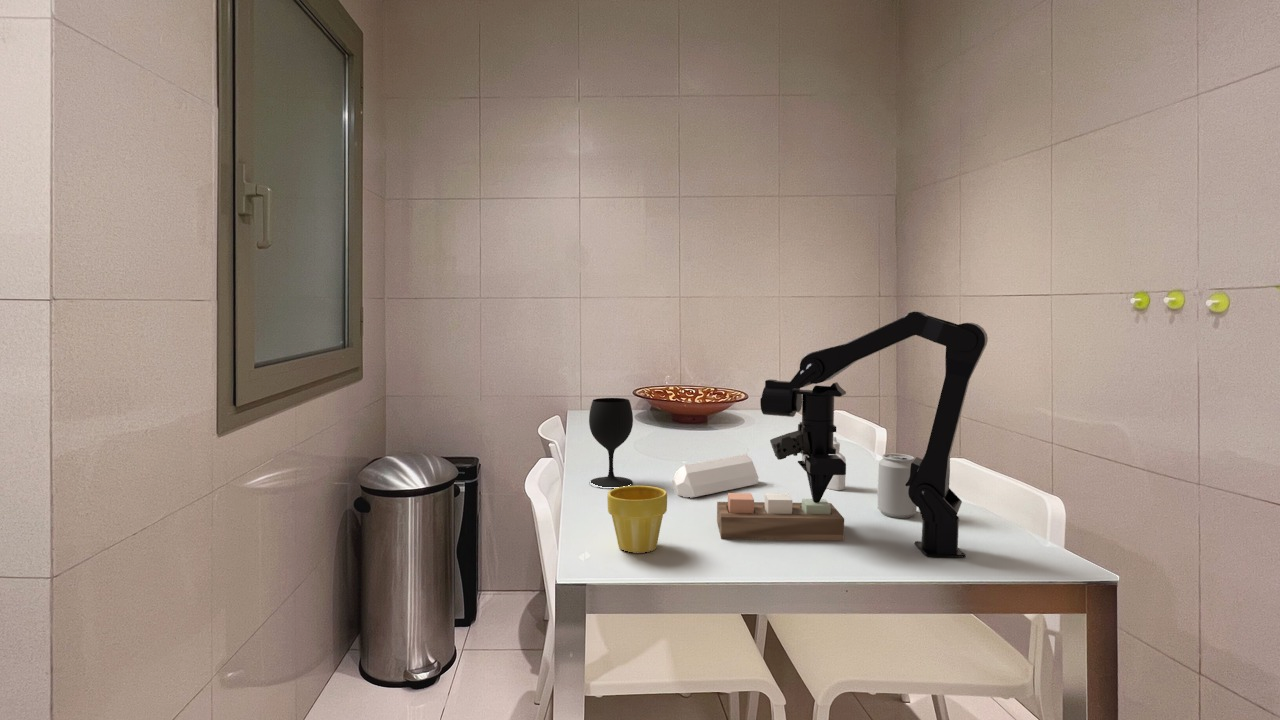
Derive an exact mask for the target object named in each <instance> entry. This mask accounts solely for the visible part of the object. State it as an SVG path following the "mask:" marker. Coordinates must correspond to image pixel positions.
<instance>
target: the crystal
mask: <svg viewBox="0 0 1280 720" xmlns="http://www.w3.org/2000/svg"><path fill="white" fill-rule="evenodd" d="M758 484H759V474H758V473H757V470H756V467H755V463H754V461H753V459H752V458H751V456H750V455H748V454H747V453H745V454H741V455H740V454H739V455H734V456H728V457H723V458H716V459H711V460H705V461H700V462H693V463H687V464H684V465H682V466H681V467H680V468H678V469H677V470H676V472H675V474H674V476H673V479H672V488H673V489H672V490H673V491H674V493H675V495H677V496H678V495H680V496H679V497H681V496H683V497H682V498H684V497H690V498H689V499H692V498H697V497H702V496H705V495H712V494H716V493H720V492H725V491H729V490H730V491H731V490H734V489H735V490H736V489H739V488H744V487H748V486H753V485H758Z"/></svg>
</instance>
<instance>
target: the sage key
mask: <svg viewBox="0 0 1280 720" xmlns="http://www.w3.org/2000/svg"><path fill="white" fill-rule="evenodd" d="M801 503H802V510H803V512H804V513H805V514H831V505H830V504H829V503H830V502H828V501H827V499H826V498H821V500H820V502H814V501H813V499H812V498H801Z"/></svg>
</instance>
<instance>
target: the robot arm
mask: <svg viewBox="0 0 1280 720" xmlns="http://www.w3.org/2000/svg"><path fill="white" fill-rule="evenodd" d="M914 336H917V337H920V338H922V339H925V340H928V341H931V342H933V343H936V344H938V345H941V346H945V372H944V373H945V376H944V381H943V383H942V386H941V387H942V388H941V392H940V396H939V400H938V403H937V407H936V412H935V414H934V419H933V423H932V428H931V431H930V435H929V439H928V443H927V447H926V451H925V453H924V456H923V457H922V458H920V457H917V456H916V457H914V458H915V459H914V461H913V462H912V463H911V468H910V478H909V480H908V482H907V483H906V484H905V486H909V491H908V494H909V498H910V499H911V501H912V502H913V503H914V504H915V505H916V506H917V508H918V510H919V513H920V516H921V518H922V523H921V541H918V540H917V541H916V540H915V541H914V543H913V545H914V546H915V547H916V548H917V549H919V550H920V551H921V552H922V553H923V554H924V555H925V556H926V557H929V558H930V557H931V558H935V557H936V558H966V556H967V554H966V553H965V552H964V551H963V550H962V549H960V548H959V527H960V526H959V524H960V523H959V522H960V517H959V516H958V513H959V511H960V508H961V505H962V500H961V499H960V497H958V495H957V494H956V493H955V492H954V491H953V490H952V489H951V488H950V480H951V478H950V477H951V476H950V475H951V472H950V471H951V454H952V453H951V452H952V448H953V446H954V442H955V437H956V433H957V429H958V427H959V423H960V419H961V415H962V411H963V406H964V403H965V400H966V396H967V395H966V394H967V390H968V388H969V384H970V380H971V378H972V375H973V373H974V372H975V370H976V368H977V366H978V363H979V362H980V359H981V358H982V356H983V354H984V352H985V349H986V347H987V344H988V341H989V339H988V338H989V337H988V334H987V332H986V330H985V329H984V327H983V326H981V325H979V324H978V323H974V322H963V323H959V324H958V323H954V322H952V321H949V320H944V319H941V318H938V317H935V316H931V315H928V314H926V313H924V312H923V311H911V312H908V313H906V314H905V315H903V317H901V318H898V319H896V320H894V321H892V322H889V323H887V324H885V325H883V326H881V327H879V328H877V329H874V330H873V331H869V332H868V333H866V334H863V335H861V336H859V337H857V338H855V339H852V340H851V341H848V342H846V343H843V344H839V345H836V346H835V345H834V346H832V347H831V346H830V347H828V348H824V349H820V350H816V351H812V352H809V353H806V354H805V355H804V356H803V357H802V358H801V360H800V364H799V369H798V371H797V372H796V374H794V376H793V377H792V378H791V380H790V381H783V380H777V379H766V380H765V381H764V388H763V389H762V390H763V391H762V393H761V397H760V404H759V405H760V409H761V410H760V411H761V413H762V415H764V416H776V417H777V416H779V417H790V418H794V417H795V416H796V413H800V412H801V421H799V423H798V424H797V430H795V431H791V432H788V433H784V434H783V435H782V434H781V435H779V436H776V437H773V438H771V439H770V440H769V441H770V445H771V448H772V451H773V453H774V456H775V457H776V459H777V460H779V461H780V460H784V459H786V458H787V457H790V456H792V455H793V456H794V457H797V456H798V455H799V454H801V460H797V464H798V465H799V466H800V467H801V468H802V469H803V470H804V472H806V476H807V480H808V481H807V482H808V484H809V485H808V486H809V491H810V494H811V499H813V501H814V502H820V500H821V499H823V496H824V494H825V492H826V490H827V486H828V484H829V482H830V481H831V479H832V477H833V475H845V474H846V473H847V463H845V462H844V461H843V460H842V459H841V458H839V457H838V456H837V455H829V454H836V449H835V448H834V447H833V437H834V433H837V426H836V425H835V423H834V422H835V397H837V398H838V397H839V398H841V397H842V396H845V395H846V394H847V391H846V390H845V389H844V388H843V387H841V386H840V385H839V383H838V381H837V382H833V383H832V384H831V385H829V386H828V385H817V384H821V383H824V382H827V381H830V380H832V379H833V378H835V377H836V376H838V375H839V374H840V373H842V372H844V371H845V370H846V369H848V368H849V367H851V366H852V365H853V364H855V363H857V362H858V361H860V360H862V359H864V358H865V359H866V358H867V357H869V356H871V355H874V354H876V353H879V352H881V351H883V350H885V349H887V348H889V347H892V346H894V345H896V344H898V343H900V342H903V341H905V340H908V339H910V338H912V337H914ZM814 384H815V385H814ZM810 385H814V386H813V388H812V389H803V388H805V387H808V386H810ZM801 388H802V389H801ZM801 410H802V411H801ZM846 475H847V474H846ZM846 475H845V476H846Z"/></svg>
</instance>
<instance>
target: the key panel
mask: <svg viewBox="0 0 1280 720" xmlns="http://www.w3.org/2000/svg"><path fill="white" fill-rule="evenodd" d="M828 503H829V504H830V505H831V514H805V513H804V512H803V510H802V502H792V514H767V513H766V511H765V501H754V513H729V511H728V501H716V523H717V528H718V532H719V534H720V535H719V536H720V540H732V539H733V540H779V541H780V540H781V541H782V540H785V541H786V540H788V541H789V540H790V541H795V540H796V541H844V540H845V517H844V516H843V515H842V514H841V513H840V511H838V510H837V508H836V507H835V506H834V505H833V504H832V503H831V502H828Z"/></svg>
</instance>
